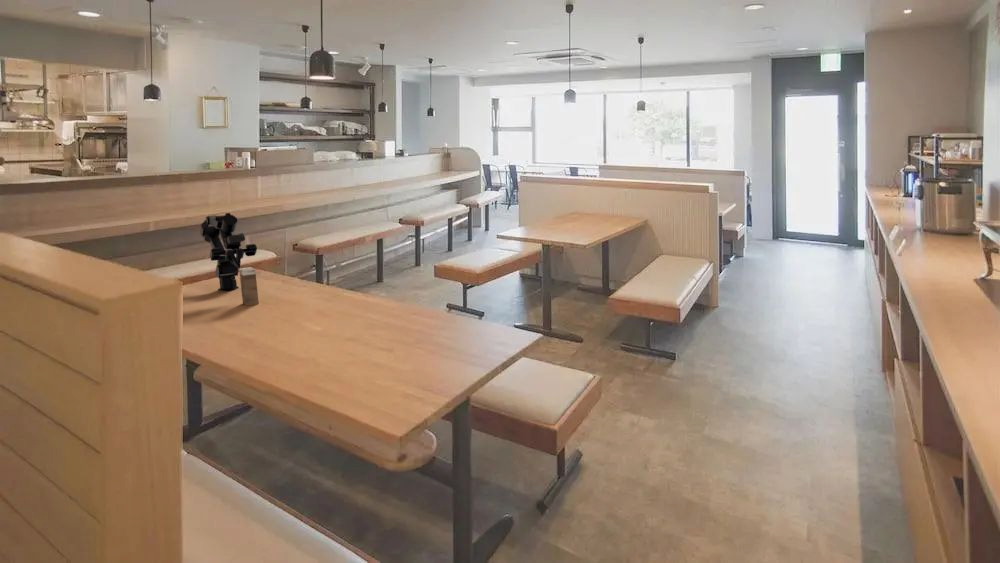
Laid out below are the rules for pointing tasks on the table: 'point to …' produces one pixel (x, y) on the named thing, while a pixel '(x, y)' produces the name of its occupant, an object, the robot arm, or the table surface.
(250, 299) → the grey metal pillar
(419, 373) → the table surface
